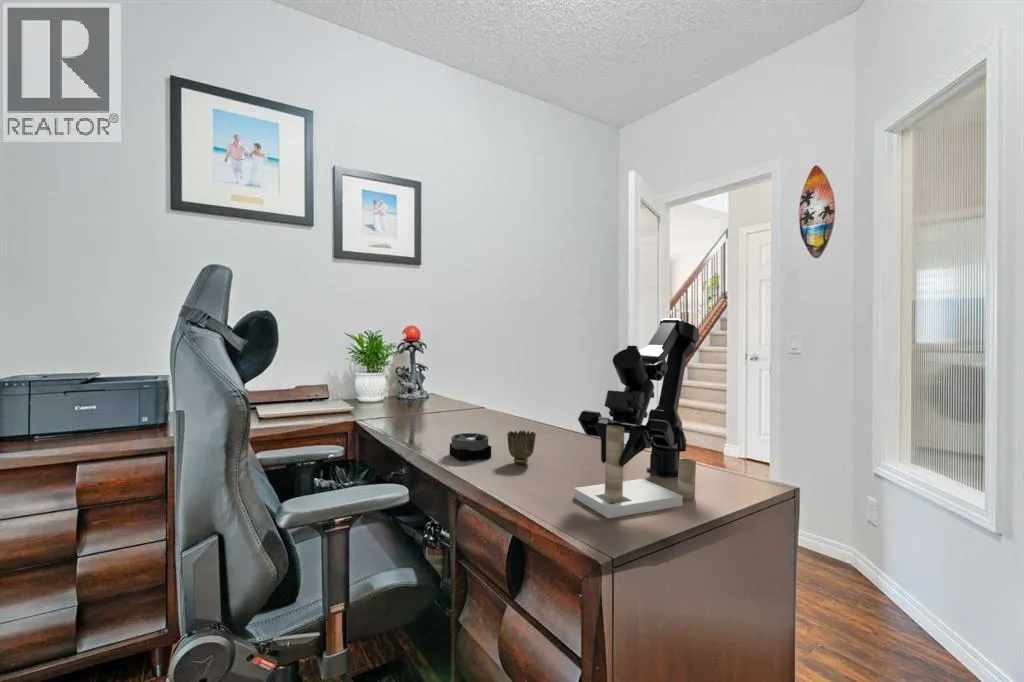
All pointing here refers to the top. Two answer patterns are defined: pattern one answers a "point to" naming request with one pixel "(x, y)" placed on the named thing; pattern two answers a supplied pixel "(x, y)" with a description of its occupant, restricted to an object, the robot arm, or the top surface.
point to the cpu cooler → (470, 447)
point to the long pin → (614, 463)
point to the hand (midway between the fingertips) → (611, 463)
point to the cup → (521, 445)
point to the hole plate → (628, 498)
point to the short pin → (686, 479)
